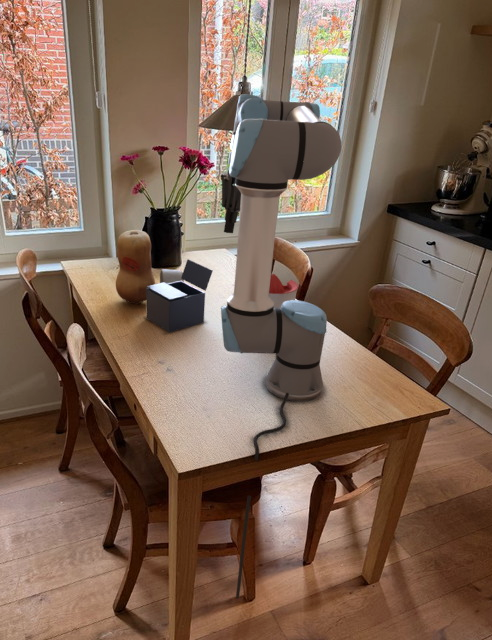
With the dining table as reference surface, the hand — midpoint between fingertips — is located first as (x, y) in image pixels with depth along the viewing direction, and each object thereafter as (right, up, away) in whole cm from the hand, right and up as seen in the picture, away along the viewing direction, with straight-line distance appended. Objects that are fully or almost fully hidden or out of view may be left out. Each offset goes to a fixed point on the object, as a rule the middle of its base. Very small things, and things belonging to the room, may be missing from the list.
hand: (228, 232), depth 168 cm
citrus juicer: (+13, -31, +5) cm, 34 cm away
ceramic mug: (-21, -12, +34) cm, 42 cm away
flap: (-10, -12, +6) cm, 17 cm away
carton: (-17, -27, +9) cm, 33 cm away
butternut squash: (-32, -19, +21) cm, 43 cm away
